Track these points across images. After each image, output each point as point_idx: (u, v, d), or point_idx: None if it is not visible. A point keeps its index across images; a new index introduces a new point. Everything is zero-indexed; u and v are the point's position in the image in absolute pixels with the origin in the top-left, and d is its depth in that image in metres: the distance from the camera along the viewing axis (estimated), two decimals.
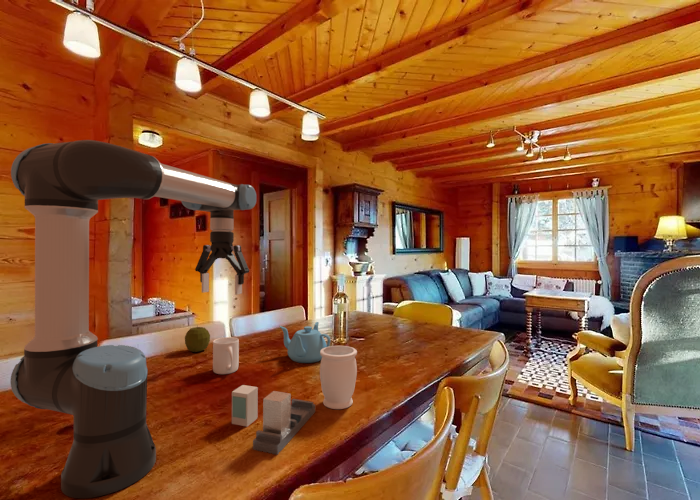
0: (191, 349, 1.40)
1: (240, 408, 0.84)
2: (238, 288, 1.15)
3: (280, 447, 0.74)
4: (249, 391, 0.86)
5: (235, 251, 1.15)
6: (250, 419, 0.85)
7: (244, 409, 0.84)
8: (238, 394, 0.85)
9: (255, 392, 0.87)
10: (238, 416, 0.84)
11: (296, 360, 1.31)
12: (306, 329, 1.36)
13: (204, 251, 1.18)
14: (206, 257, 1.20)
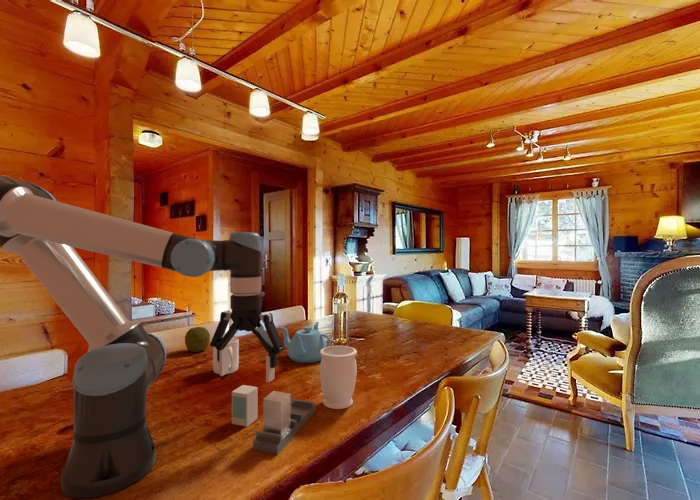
0: (191, 349, 1.40)
1: (240, 408, 0.84)
2: (270, 373, 0.84)
3: (280, 447, 0.74)
4: (249, 391, 0.86)
5: (265, 323, 0.84)
6: (250, 419, 0.85)
7: (244, 409, 0.84)
8: (238, 394, 0.85)
9: (255, 392, 0.87)
10: (238, 416, 0.84)
11: (296, 360, 1.31)
12: (306, 329, 1.36)
13: (222, 320, 0.87)
14: (225, 327, 0.89)
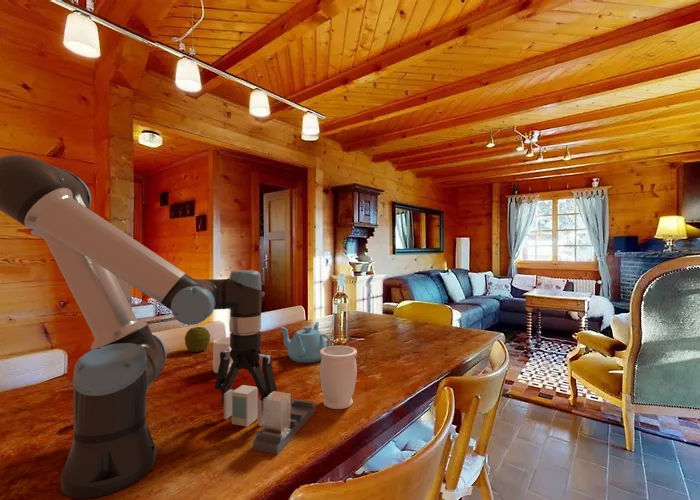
0: (191, 349, 1.40)
1: (240, 408, 0.84)
2: (262, 416, 0.85)
3: (280, 447, 0.74)
4: (249, 391, 0.86)
5: (263, 365, 0.84)
6: (250, 419, 0.85)
7: (244, 409, 0.84)
8: (238, 394, 0.85)
9: (255, 392, 0.87)
10: (238, 416, 0.84)
11: (296, 360, 1.31)
12: (306, 329, 1.36)
13: (222, 360, 0.87)
14: (226, 367, 0.89)
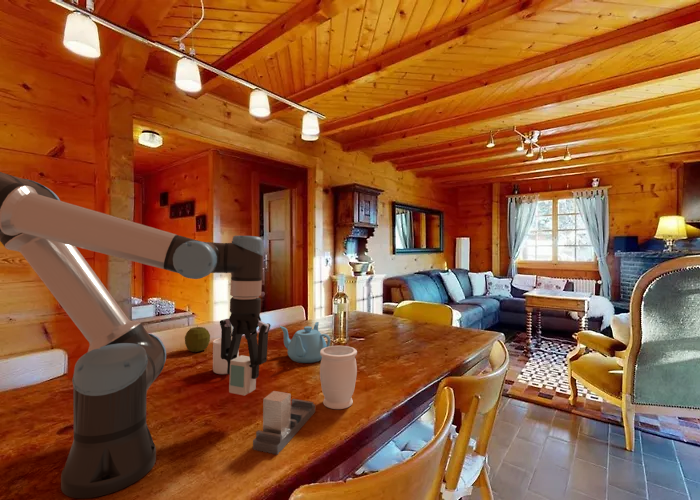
0: (191, 349, 1.40)
1: (238, 377, 0.84)
2: (251, 384, 0.85)
3: (280, 447, 0.74)
4: (248, 360, 0.85)
5: (261, 332, 0.84)
6: None
7: (242, 378, 0.84)
8: (236, 362, 0.85)
9: None
10: (236, 385, 0.84)
11: (296, 360, 1.31)
12: (306, 329, 1.36)
13: (223, 328, 0.87)
14: (229, 335, 0.88)
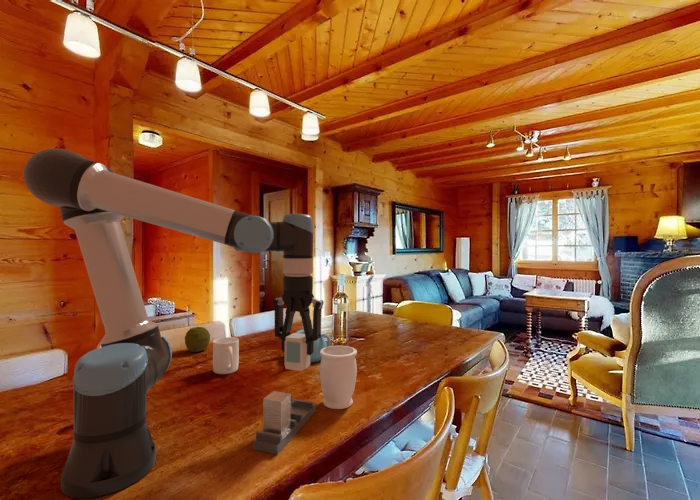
0: (191, 349, 1.40)
1: (294, 353, 0.85)
2: (307, 360, 0.86)
3: (280, 447, 0.74)
4: (302, 337, 0.87)
5: (315, 309, 0.85)
6: None
7: (299, 353, 0.85)
8: (292, 339, 0.86)
9: None
10: (292, 361, 0.86)
11: None
12: None
13: (277, 307, 0.88)
14: (281, 314, 0.90)
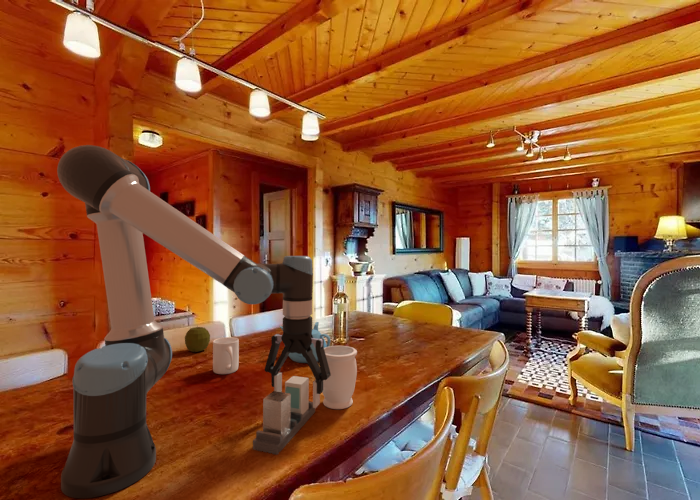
0: (191, 349, 1.40)
1: (294, 398, 0.85)
2: (316, 398, 0.86)
3: (280, 447, 0.74)
4: (302, 381, 0.87)
5: (317, 348, 0.85)
6: (303, 410, 0.87)
7: (298, 399, 0.85)
8: (291, 384, 0.86)
9: (307, 382, 0.88)
10: (291, 406, 0.86)
11: (296, 360, 1.31)
12: None
13: (274, 344, 0.89)
14: (276, 351, 0.90)
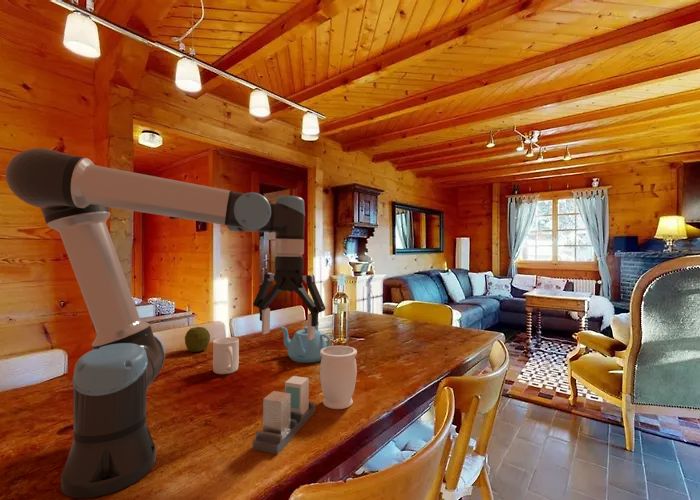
0: (191, 349, 1.40)
1: (294, 398, 0.85)
2: (311, 331, 0.88)
3: (280, 447, 0.74)
4: (302, 381, 0.87)
5: (308, 283, 0.87)
6: (303, 410, 0.87)
7: (298, 399, 0.85)
8: (291, 384, 0.86)
9: (307, 382, 0.88)
10: (291, 406, 0.86)
11: (296, 360, 1.31)
12: (306, 329, 1.36)
13: (266, 281, 0.91)
14: (267, 288, 0.93)
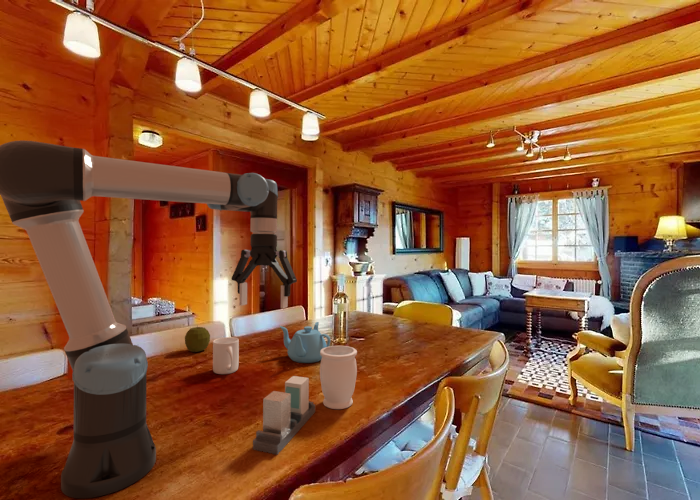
0: (191, 349, 1.40)
1: (294, 398, 0.85)
2: (284, 301, 0.97)
3: (280, 447, 0.74)
4: (302, 381, 0.87)
5: (281, 257, 0.97)
6: (303, 410, 0.87)
7: (298, 399, 0.85)
8: (291, 384, 0.86)
9: (307, 382, 0.88)
10: (291, 406, 0.86)
11: (296, 360, 1.31)
12: (306, 329, 1.36)
13: (242, 257, 1.01)
14: (244, 264, 1.02)
